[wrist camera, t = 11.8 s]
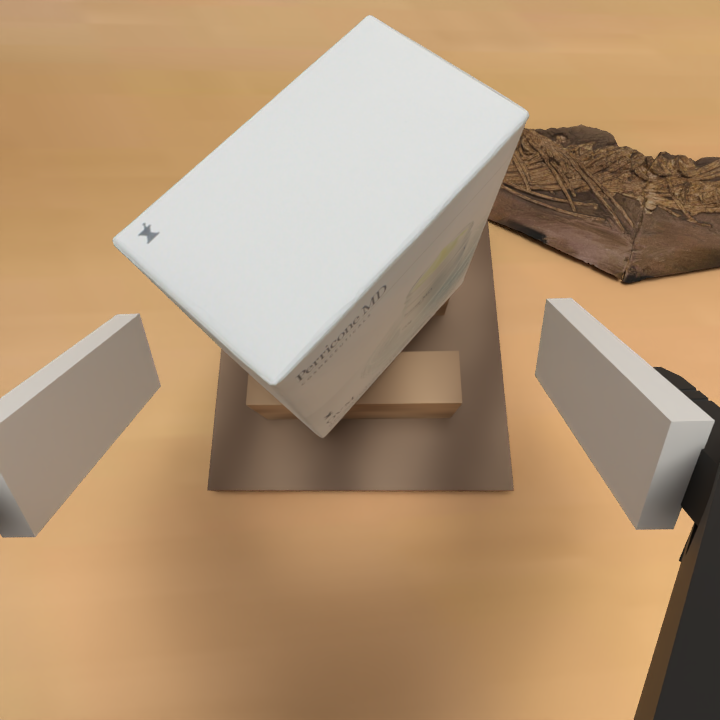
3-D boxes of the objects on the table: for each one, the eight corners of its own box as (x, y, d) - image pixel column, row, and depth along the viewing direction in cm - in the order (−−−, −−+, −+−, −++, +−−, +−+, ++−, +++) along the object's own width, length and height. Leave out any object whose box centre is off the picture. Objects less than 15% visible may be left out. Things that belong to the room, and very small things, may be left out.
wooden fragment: (811, 176, 29) (826, 165, 28) (804, 331, 26) (821, 324, 25) (421, 102, 32) (422, 89, 31) (377, 229, 30) (377, 220, 29)
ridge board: (214, 490, 25) (173, 488, 20) (238, 237, 29) (209, 187, 25) (508, 490, 24) (539, 489, 19) (484, 230, 29) (503, 176, 24)
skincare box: (328, 446, 20) (270, 393, 10) (230, 357, 22) (96, 235, 12) (471, 283, 22) (542, 104, 12) (372, 213, 24) (361, 2, 14)
